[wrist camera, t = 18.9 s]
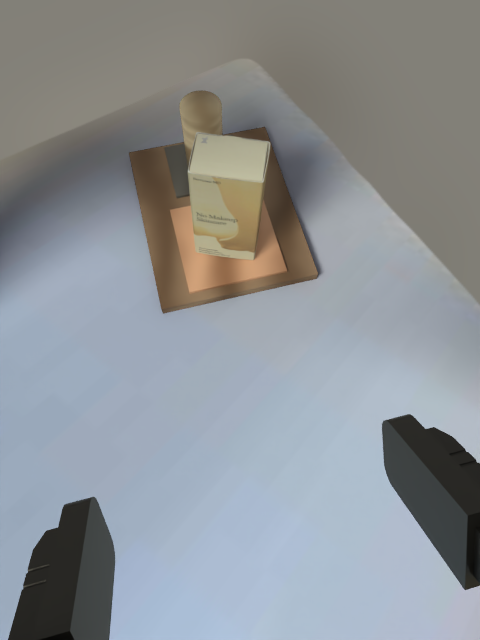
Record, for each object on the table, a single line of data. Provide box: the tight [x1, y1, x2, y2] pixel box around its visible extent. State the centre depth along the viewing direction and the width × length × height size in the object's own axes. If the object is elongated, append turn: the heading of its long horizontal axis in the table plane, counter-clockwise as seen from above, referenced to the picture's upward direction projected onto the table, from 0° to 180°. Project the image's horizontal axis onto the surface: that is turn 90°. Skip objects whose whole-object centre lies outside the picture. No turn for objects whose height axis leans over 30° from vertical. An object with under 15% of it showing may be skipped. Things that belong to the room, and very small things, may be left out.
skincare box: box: [188, 132, 271, 260], centre depth 42 cm, size 6×4×12 cm
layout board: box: [129, 91, 318, 313], centre depth 46 cm, size 16×20×9 cm
